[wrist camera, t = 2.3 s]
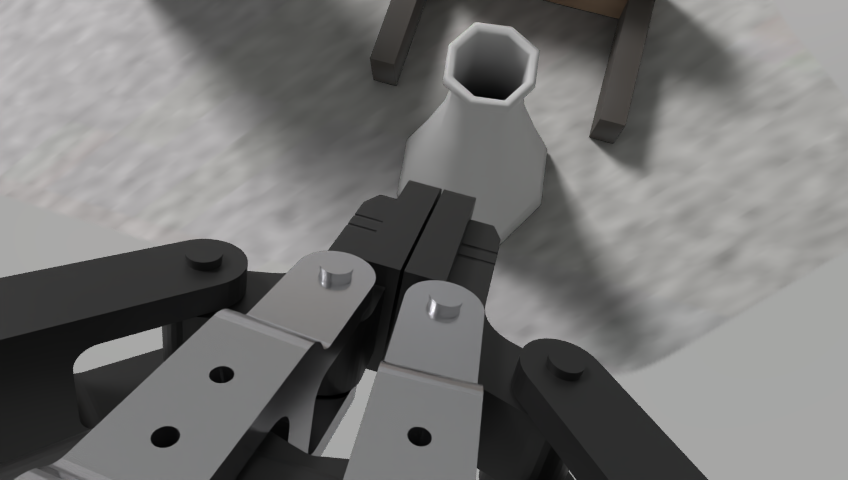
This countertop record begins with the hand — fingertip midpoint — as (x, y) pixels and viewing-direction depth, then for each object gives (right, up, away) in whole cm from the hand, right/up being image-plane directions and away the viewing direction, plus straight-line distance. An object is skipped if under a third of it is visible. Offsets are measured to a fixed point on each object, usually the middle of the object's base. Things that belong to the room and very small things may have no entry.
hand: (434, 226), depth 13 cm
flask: (+2, +3, +17) cm, 17 cm away
